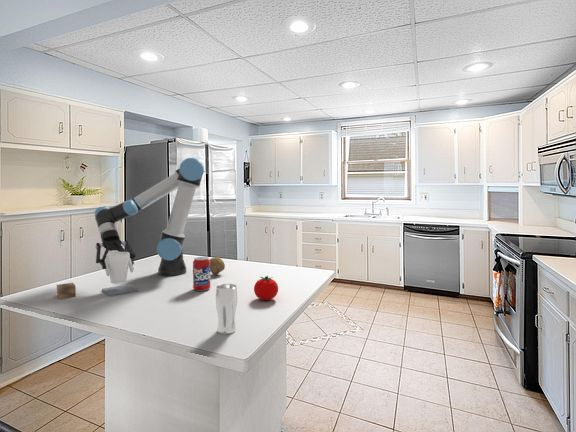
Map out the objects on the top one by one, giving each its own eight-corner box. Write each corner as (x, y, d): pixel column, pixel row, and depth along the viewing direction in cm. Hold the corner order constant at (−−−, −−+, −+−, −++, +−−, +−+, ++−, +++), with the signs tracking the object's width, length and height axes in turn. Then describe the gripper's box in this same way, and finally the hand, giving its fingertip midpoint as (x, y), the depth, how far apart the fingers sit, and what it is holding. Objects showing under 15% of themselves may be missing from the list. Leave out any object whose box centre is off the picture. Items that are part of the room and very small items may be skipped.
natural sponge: (223, 272, 190) (223, 255, 190) (225, 276, 182) (225, 258, 181) (207, 273, 187) (207, 255, 187) (208, 277, 179) (208, 259, 178)
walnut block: (73, 293, 150) (72, 282, 149) (75, 296, 145) (75, 285, 145) (57, 296, 146) (56, 285, 145) (59, 299, 141) (58, 288, 141)
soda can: (204, 286, 162) (204, 255, 161) (213, 289, 157) (213, 258, 156) (190, 289, 157) (189, 257, 156) (198, 293, 151) (198, 260, 150)
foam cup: (120, 285, 148) (119, 256, 147) (102, 283, 150) (101, 255, 149) (134, 279, 157) (133, 252, 156) (117, 278, 159) (116, 251, 158)
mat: (129, 285, 162) (129, 283, 162) (138, 291, 154) (138, 289, 154) (102, 290, 154) (102, 288, 154) (110, 296, 145) (110, 294, 145)
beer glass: (226, 324, 116) (226, 282, 115) (241, 329, 112) (241, 285, 111) (211, 331, 110) (211, 287, 109) (226, 336, 106) (226, 290, 105)
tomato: (269, 305, 136) (269, 281, 135) (248, 300, 142) (248, 277, 141) (282, 298, 145) (283, 275, 144) (263, 294, 151) (263, 272, 150)
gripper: (131, 237, 171) (143, 273, 161) (81, 241, 156) (91, 281, 145) (134, 227, 167) (147, 264, 156) (84, 230, 151) (94, 271, 141)
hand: (120, 272), depth 151 cm, fingers closed on foam cup, 9 cm apart
